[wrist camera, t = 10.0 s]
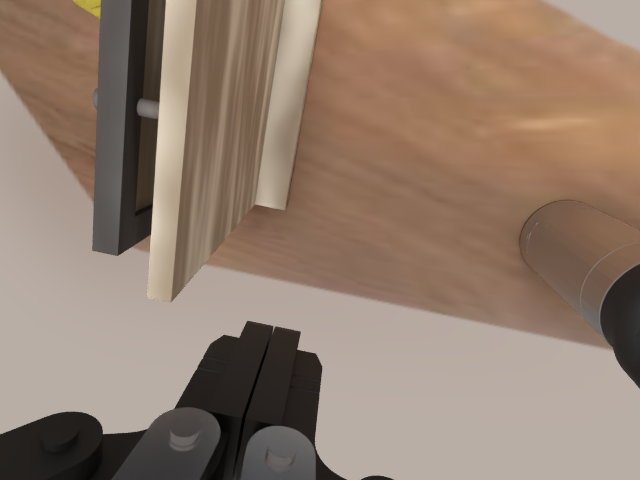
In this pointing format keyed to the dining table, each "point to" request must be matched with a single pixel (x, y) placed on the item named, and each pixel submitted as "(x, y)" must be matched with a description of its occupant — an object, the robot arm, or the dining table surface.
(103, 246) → the picture frame
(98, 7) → the yellow horseshoe piece
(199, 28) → the wall board stand
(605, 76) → the dining table surface
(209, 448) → the robot arm
